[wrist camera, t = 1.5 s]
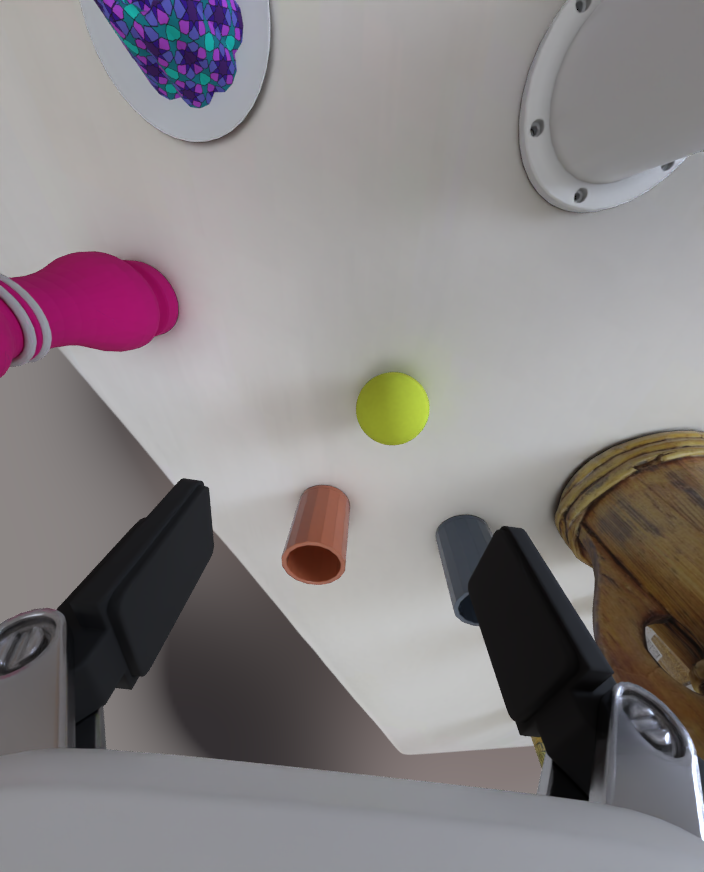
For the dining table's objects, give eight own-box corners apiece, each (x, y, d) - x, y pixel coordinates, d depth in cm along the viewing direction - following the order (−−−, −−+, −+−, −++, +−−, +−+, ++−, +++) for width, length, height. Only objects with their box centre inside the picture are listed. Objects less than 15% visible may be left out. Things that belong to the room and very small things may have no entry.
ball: (414, 354, 29) (426, 376, 23) (429, 415, 32) (442, 448, 26) (348, 375, 30) (343, 401, 24) (368, 431, 33) (368, 466, 27)
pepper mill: (178, 352, 30) (-87, 466, 13) (103, 319, 29) (-307, 395, 11) (190, 278, 27) (-147, 293, 9) (106, 237, 25) (-465, 167, 8)
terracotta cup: (339, 479, 37) (331, 536, 29) (356, 517, 40) (353, 579, 32) (291, 491, 38) (270, 549, 30) (310, 527, 41) (297, 589, 33)
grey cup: (485, 509, 38) (521, 581, 29) (492, 546, 41) (525, 621, 32) (430, 521, 39) (448, 592, 31) (440, 556, 42) (459, 630, 34)
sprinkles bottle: (646, 583, 43) (750, 701, 31) (639, 602, 45) (734, 719, 33) (611, 586, 44) (700, 703, 32) (606, 605, 46) (687, 720, 34)
